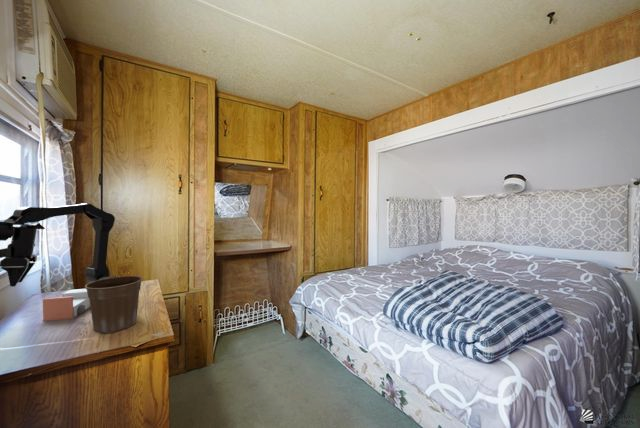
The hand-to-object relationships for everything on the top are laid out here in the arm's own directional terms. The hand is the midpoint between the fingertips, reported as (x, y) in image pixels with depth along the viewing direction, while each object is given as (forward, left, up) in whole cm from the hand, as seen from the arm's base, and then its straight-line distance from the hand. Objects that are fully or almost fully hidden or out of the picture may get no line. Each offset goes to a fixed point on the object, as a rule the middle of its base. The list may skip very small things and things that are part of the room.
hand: (16, 284), depth 95 cm
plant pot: (-35, +12, -15) cm, 40 cm away
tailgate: (-12, +1, -14) cm, 19 cm away
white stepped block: (-12, -8, -14) cm, 21 cm away
